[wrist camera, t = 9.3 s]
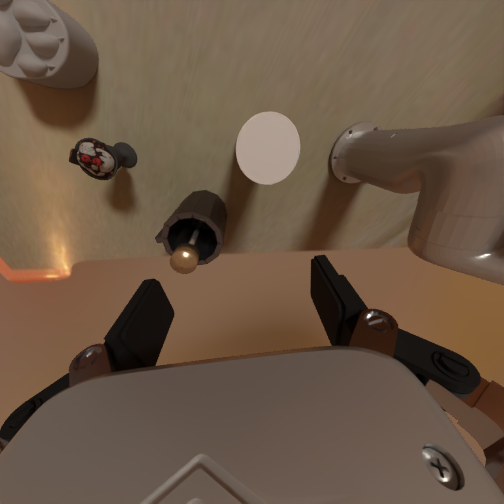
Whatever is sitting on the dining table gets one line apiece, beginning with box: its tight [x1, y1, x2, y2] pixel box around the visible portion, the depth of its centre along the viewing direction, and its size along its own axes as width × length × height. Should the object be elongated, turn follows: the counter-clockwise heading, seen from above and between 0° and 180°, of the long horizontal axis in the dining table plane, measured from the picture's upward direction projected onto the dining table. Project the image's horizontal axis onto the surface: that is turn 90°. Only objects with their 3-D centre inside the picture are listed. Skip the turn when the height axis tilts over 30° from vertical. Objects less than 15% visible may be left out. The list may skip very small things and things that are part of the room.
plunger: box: [170, 218, 212, 274], centre depth 39 cm, size 8×8×21 cm
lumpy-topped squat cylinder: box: [0, 0, 99, 89], centre depth 30 cm, size 10×13×9 cm
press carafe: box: [155, 190, 227, 265], centre depth 43 cm, size 13×11×16 cm
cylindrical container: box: [236, 112, 300, 184], centre depth 32 cm, size 7×7×25 cm
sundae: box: [69, 138, 137, 180], centre depth 36 cm, size 7×7×15 cm
